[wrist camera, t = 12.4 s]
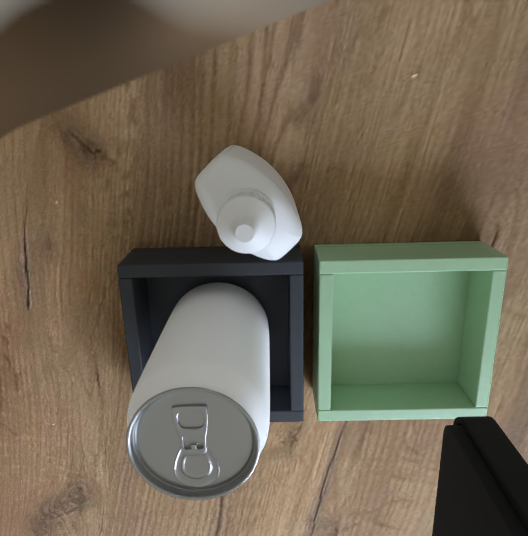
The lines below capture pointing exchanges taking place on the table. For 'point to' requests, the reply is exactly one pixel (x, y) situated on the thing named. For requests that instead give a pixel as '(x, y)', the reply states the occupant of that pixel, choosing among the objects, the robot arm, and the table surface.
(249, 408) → the can
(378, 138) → the table surface
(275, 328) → the charcoal bin
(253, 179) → the eye dropper bottle
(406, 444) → the table surface
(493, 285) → the sage bin
